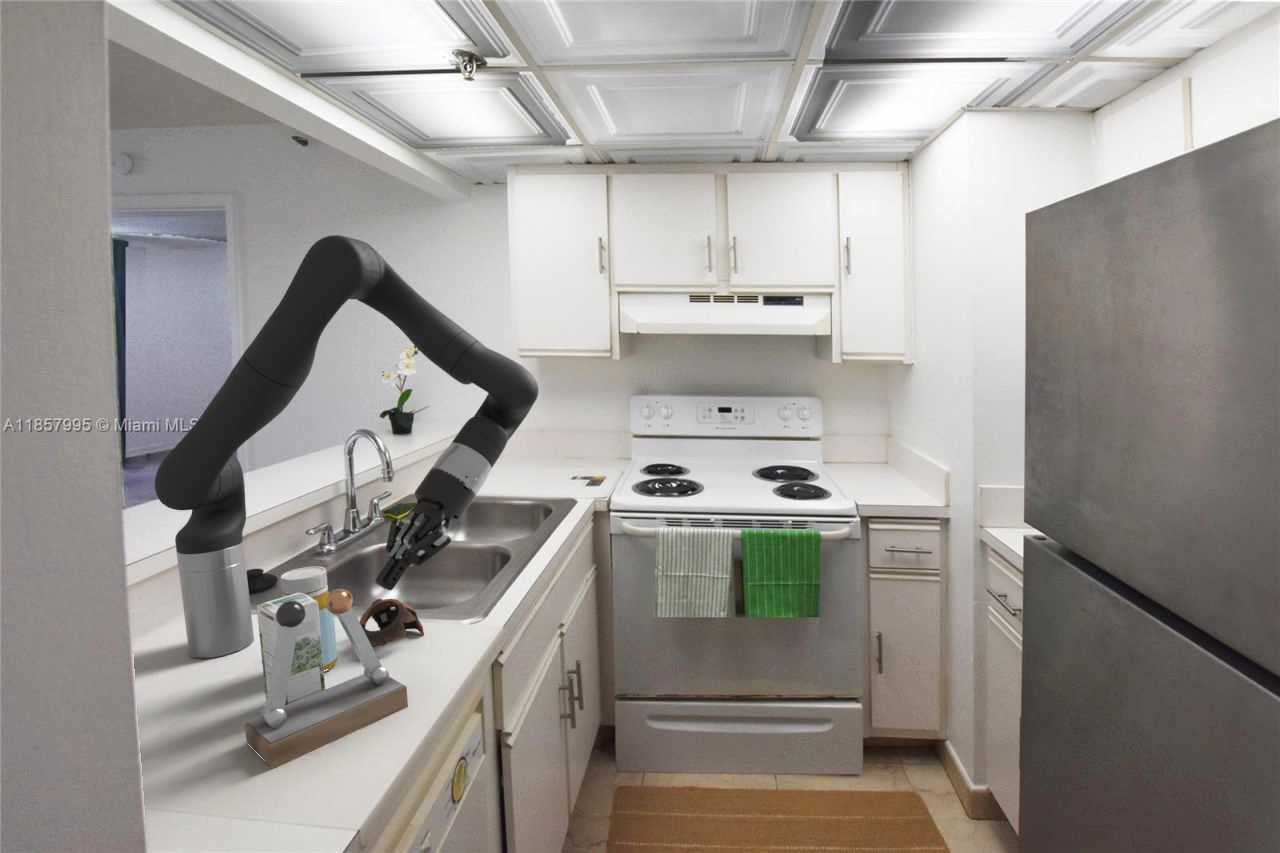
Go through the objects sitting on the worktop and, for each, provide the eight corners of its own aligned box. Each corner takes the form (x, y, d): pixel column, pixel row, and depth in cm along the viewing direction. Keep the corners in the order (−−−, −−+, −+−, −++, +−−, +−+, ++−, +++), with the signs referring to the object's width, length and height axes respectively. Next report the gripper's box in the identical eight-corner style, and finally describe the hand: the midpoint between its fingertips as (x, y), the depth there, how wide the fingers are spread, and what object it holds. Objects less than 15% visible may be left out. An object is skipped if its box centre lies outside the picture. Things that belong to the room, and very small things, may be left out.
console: (246, 744, 82) (244, 721, 82) (378, 688, 95) (376, 668, 94) (272, 768, 77) (269, 744, 76) (408, 706, 89) (406, 685, 89)
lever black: (252, 721, 80) (274, 598, 81) (280, 717, 82) (301, 597, 84) (262, 731, 78) (284, 604, 79) (291, 725, 80) (311, 603, 82)
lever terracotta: (363, 684, 90) (317, 596, 85) (383, 668, 92) (339, 581, 87) (374, 691, 88) (328, 601, 83) (395, 674, 90) (351, 586, 85)
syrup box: (308, 688, 96) (298, 590, 94) (328, 700, 92) (318, 598, 90) (265, 705, 91) (254, 603, 90) (284, 719, 87) (273, 612, 86)
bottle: (285, 683, 97) (274, 584, 96) (289, 663, 104) (279, 570, 102) (337, 672, 100) (328, 575, 98) (338, 654, 106) (329, 562, 105)
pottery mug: (438, 641, 111) (418, 609, 106) (388, 681, 107) (365, 650, 102) (405, 606, 119) (386, 575, 114) (357, 642, 115) (335, 612, 110)
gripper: (412, 463, 100) (339, 564, 92) (462, 469, 91) (386, 582, 83) (446, 491, 104) (379, 590, 97) (497, 500, 96) (428, 610, 88)
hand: (382, 586), depth 90 cm, fingers closed
